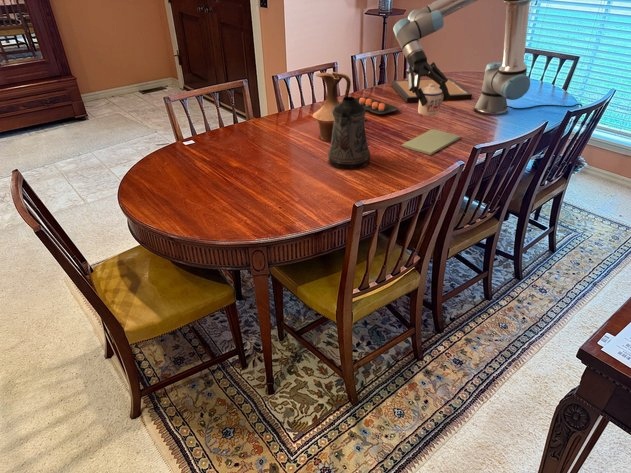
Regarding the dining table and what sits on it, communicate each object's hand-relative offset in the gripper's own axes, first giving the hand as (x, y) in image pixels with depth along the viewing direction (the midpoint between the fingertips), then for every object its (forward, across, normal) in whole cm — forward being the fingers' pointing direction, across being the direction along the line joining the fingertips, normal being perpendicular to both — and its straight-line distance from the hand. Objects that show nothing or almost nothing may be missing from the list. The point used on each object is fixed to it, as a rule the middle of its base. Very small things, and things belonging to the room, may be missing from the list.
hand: (436, 101), depth 177 cm
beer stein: (+11, +41, -14) cm, 45 cm away
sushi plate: (-24, +1, -49) cm, 54 cm away
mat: (+13, 0, -12) cm, 17 cm away
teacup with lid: (+2, 0, -5) cm, 6 cm away
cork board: (-27, -51, -52) cm, 78 cm away
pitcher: (-8, +32, -32) cm, 47 cm away
